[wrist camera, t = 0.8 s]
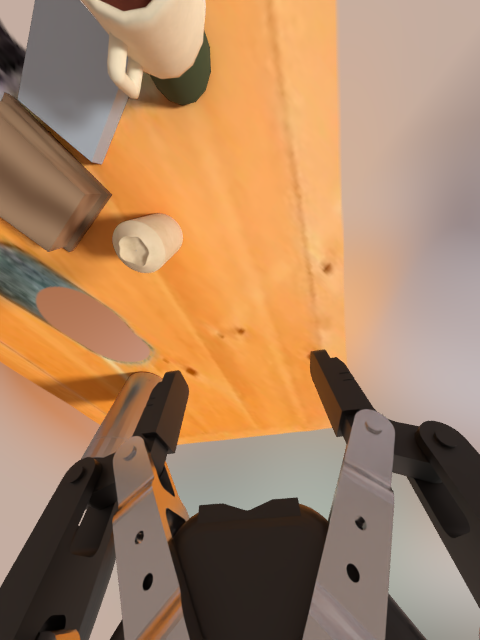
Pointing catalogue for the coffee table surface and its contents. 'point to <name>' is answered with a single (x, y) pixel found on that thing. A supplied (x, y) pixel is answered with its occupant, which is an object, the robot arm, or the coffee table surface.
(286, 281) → the coffee table surface
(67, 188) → the stand
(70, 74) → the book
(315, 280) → the coffee table surface
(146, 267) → the candle
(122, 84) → the character mug
